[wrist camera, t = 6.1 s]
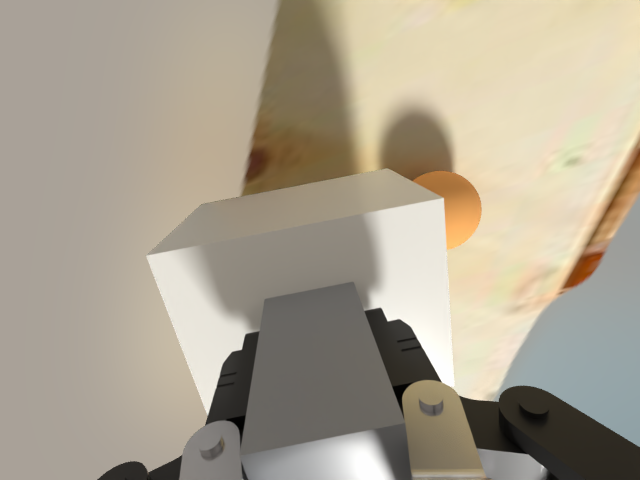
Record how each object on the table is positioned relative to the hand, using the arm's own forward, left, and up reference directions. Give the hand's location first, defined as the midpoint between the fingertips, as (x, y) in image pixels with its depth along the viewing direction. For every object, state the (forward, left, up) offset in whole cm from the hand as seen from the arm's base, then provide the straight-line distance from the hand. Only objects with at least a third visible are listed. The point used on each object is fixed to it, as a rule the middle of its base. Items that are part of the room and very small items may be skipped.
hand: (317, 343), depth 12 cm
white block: (0, 0, -8) cm, 8 cm away
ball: (0, +9, -11) cm, 14 cm away
